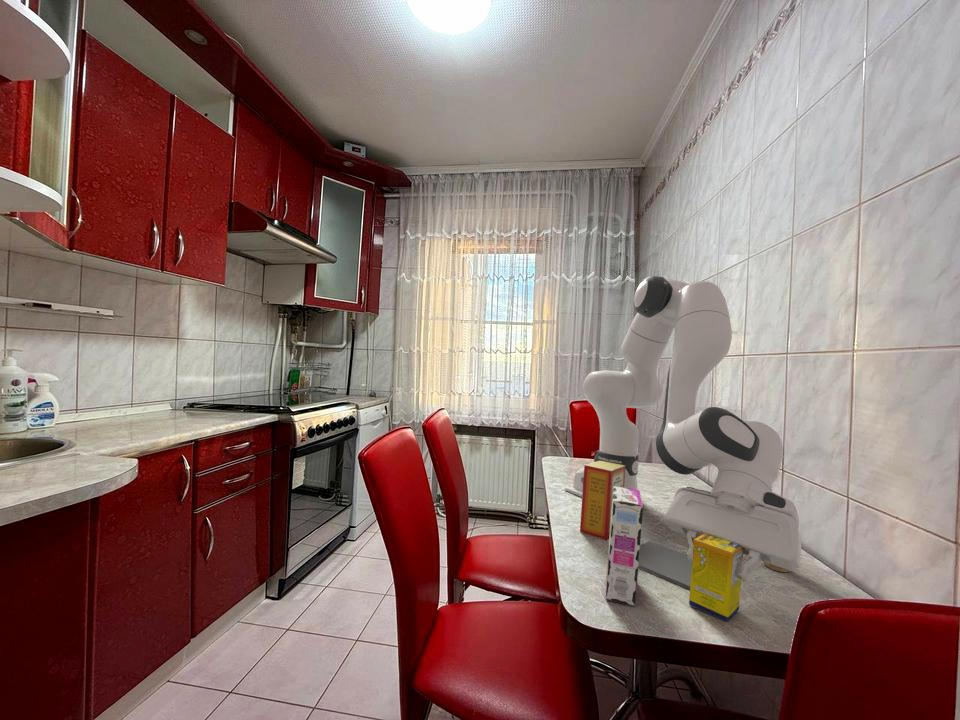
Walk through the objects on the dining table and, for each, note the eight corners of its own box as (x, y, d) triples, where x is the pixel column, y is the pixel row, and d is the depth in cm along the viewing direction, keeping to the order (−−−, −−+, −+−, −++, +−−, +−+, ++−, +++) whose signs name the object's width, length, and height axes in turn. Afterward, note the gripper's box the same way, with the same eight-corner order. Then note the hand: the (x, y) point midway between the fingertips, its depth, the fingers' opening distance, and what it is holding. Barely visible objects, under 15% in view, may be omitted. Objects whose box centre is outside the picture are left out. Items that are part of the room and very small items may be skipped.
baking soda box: (595, 522, 106) (600, 458, 107) (621, 529, 102) (625, 464, 103) (579, 531, 99) (584, 463, 99) (606, 540, 95) (611, 469, 95)
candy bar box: (637, 608, 67) (644, 505, 68) (605, 600, 69) (611, 500, 69) (634, 577, 78) (640, 488, 78) (606, 571, 80) (612, 484, 80)
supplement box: (700, 593, 73) (705, 531, 74) (739, 610, 69) (744, 543, 69) (687, 604, 69) (692, 538, 70) (727, 623, 65) (733, 552, 65)
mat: (616, 558, 86) (616, 555, 86) (649, 543, 95) (649, 540, 95) (693, 591, 74) (693, 587, 74) (721, 570, 84) (722, 567, 84)
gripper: (675, 474, 82) (648, 535, 75) (806, 505, 67) (786, 585, 60) (683, 494, 85) (658, 554, 78) (810, 528, 70) (792, 606, 63)
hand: (715, 568), depth 69 cm, fingers closed on supplement box, 6 cm apart
